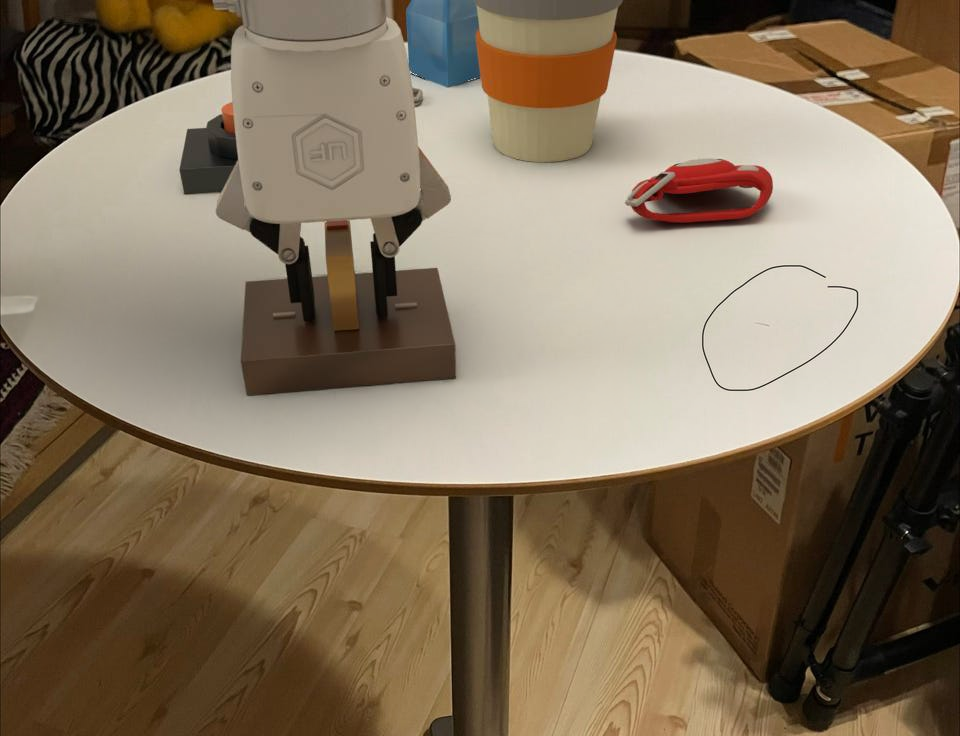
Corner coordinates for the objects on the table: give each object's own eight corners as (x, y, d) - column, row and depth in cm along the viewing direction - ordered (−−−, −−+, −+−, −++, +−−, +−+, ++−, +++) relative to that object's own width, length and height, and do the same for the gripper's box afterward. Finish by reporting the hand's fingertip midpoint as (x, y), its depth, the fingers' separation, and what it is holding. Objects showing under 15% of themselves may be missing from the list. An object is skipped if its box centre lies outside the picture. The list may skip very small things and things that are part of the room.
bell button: (223, 137, 87) (220, 116, 85) (225, 121, 89) (222, 101, 88) (267, 134, 87) (264, 114, 86) (268, 119, 90) (265, 98, 89)
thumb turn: (359, 329, 65) (352, 252, 62) (333, 331, 65) (325, 254, 62) (356, 290, 69) (349, 216, 65) (332, 292, 69) (324, 217, 65)
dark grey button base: (184, 194, 87) (174, 147, 84) (191, 153, 93) (183, 108, 91) (317, 186, 88) (312, 139, 85) (315, 145, 94) (310, 101, 92)
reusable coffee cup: (552, 107, 101) (558, -64, 92) (640, 147, 94) (658, -35, 84) (446, 137, 96) (441, -42, 86) (531, 182, 88) (536, -9, 78)
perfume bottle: (447, 88, 106) (444, -42, 98) (409, 73, 109) (402, -53, 102) (492, 73, 109) (492, -53, 101) (453, 60, 113) (450, -64, 105)
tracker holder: (661, 157, 89) (780, 147, 84) (664, 211, 91) (781, 203, 86) (613, 177, 79) (745, 166, 75) (618, 236, 81) (747, 229, 76)
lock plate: (246, 395, 64) (240, 359, 62) (250, 313, 72) (245, 279, 70) (456, 378, 65) (455, 341, 64) (438, 299, 73) (437, 265, 71)
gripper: (143, 30, 51) (208, 348, 63) (480, 15, 53) (482, 328, 65) (159, -11, 57) (216, 288, 69) (463, -24, 59) (467, 271, 70)
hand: (345, 305), depth 67 cm, fingers open, 4 cm apart
